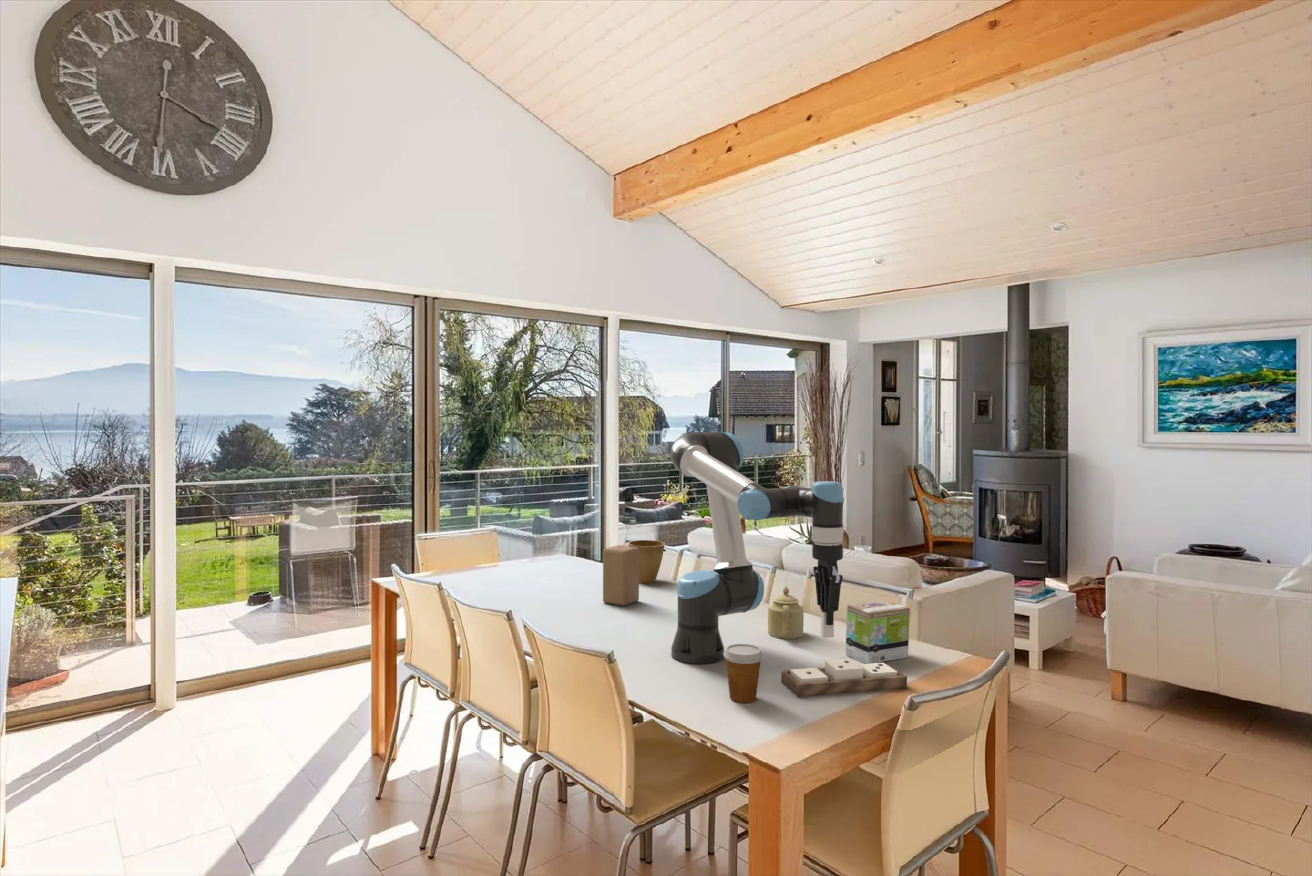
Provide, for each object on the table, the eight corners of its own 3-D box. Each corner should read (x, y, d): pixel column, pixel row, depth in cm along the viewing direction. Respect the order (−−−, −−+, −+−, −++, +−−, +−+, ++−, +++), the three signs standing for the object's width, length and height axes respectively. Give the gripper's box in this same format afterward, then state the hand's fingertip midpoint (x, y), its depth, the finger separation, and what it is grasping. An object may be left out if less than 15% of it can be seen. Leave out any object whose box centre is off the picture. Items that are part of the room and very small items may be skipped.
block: (639, 601, 274) (640, 547, 273) (624, 607, 265) (624, 551, 265) (617, 597, 279) (618, 544, 278) (601, 603, 271) (602, 548, 270)
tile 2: (837, 683, 185) (837, 669, 185) (824, 673, 192) (824, 660, 192) (862, 681, 187) (863, 667, 187) (849, 671, 194) (849, 658, 193)
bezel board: (797, 697, 181) (797, 685, 181) (781, 682, 191) (781, 670, 191) (906, 688, 188) (907, 676, 187) (885, 674, 198) (885, 663, 198)
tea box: (869, 666, 204) (870, 612, 204) (844, 655, 213) (845, 604, 213) (909, 658, 211) (910, 606, 211) (883, 648, 220) (884, 598, 220)
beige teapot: (816, 641, 227) (816, 592, 226) (783, 644, 223) (783, 594, 223) (793, 627, 241) (793, 581, 240) (761, 630, 238) (762, 583, 237)
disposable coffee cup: (766, 705, 176) (767, 655, 176) (726, 706, 175) (727, 656, 175) (757, 690, 186) (758, 642, 185) (720, 691, 185) (720, 643, 184)
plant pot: (624, 584, 300) (625, 545, 299) (632, 577, 315) (632, 539, 314) (661, 586, 297) (661, 546, 297) (666, 578, 312) (667, 540, 312)
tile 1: (801, 692, 183) (801, 678, 183) (790, 682, 190) (790, 668, 190) (827, 689, 185) (827, 676, 185) (815, 680, 192) (815, 666, 191)
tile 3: (871, 686, 187) (872, 672, 187) (858, 676, 194) (858, 663, 194) (897, 684, 189) (897, 671, 189) (882, 674, 196) (883, 662, 196)
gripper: (852, 546, 181) (852, 643, 181) (831, 538, 194) (831, 629, 194) (823, 547, 180) (823, 645, 180) (803, 539, 193) (803, 630, 193)
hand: (827, 636), depth 187 cm, fingers closed
